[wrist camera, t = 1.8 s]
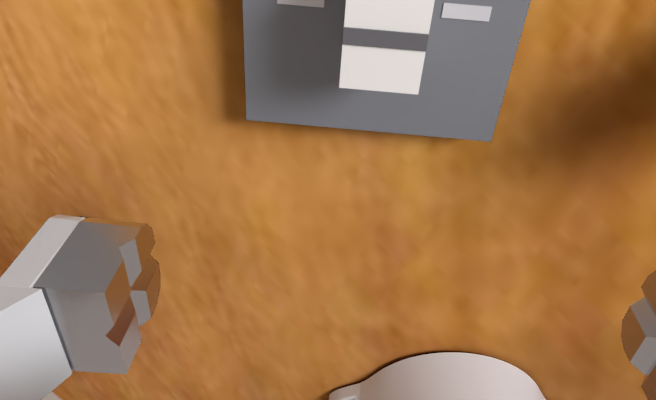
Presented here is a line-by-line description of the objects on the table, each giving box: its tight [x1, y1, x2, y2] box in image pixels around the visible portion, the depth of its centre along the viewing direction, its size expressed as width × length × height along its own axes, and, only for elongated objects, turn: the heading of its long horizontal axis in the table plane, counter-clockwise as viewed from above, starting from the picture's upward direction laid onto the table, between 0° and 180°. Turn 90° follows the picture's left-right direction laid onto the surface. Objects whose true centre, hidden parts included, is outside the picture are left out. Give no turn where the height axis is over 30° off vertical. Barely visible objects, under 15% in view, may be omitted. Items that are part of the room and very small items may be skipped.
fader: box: [339, 0, 435, 95], centre depth 20 cm, size 4×3×4 cm
